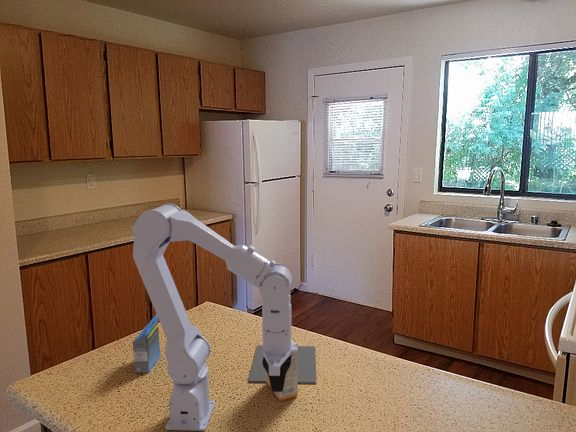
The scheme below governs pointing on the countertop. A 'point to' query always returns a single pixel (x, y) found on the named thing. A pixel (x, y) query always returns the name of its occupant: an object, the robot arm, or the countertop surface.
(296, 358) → the supplement box
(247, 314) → the countertop surface
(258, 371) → the mat
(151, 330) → the label tape cartridge
